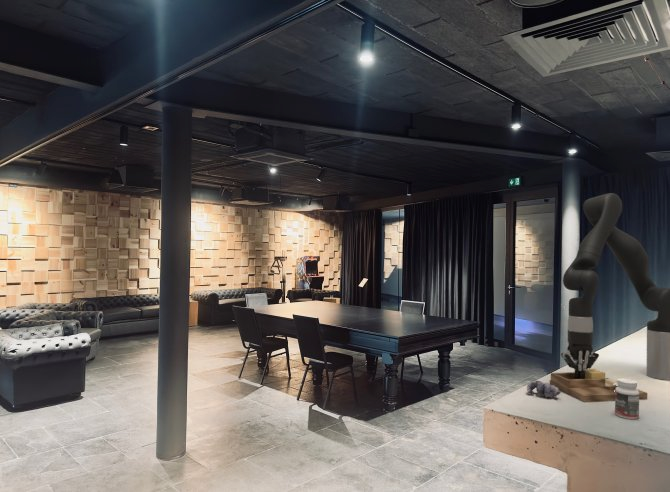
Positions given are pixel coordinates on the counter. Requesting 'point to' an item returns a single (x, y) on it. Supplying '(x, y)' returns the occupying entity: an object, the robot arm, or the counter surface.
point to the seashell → (543, 389)
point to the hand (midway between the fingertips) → (579, 381)
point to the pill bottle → (627, 399)
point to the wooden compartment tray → (595, 392)
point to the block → (594, 374)
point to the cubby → (576, 381)
